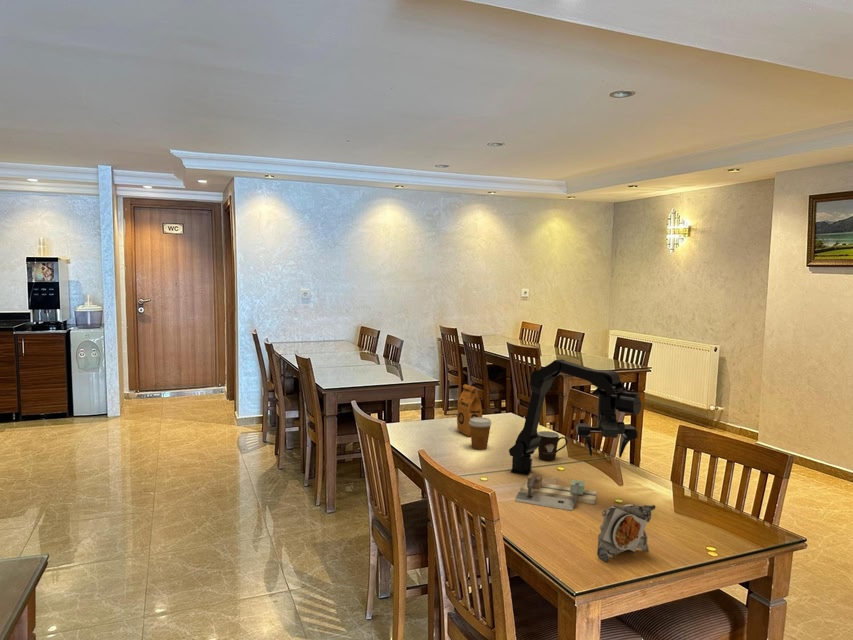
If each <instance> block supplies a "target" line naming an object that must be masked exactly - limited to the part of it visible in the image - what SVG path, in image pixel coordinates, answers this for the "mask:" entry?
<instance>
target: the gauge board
mask: <svg viewBox="0 0 853 640" xmlns="http://www.w3.org/2000/svg"><path fill="white" fill-rule="evenodd" d="M519 489H520V490H519V492H525V493H528V495H529V496H531V494H537V495H543V496H549V497H555V498H562V499H568V500H572V498H573V495H572V493H570V486H564V485H559V484H552V483H545V482H543V474H538V473H533V472H529V474H528V476H527V480H526V479H525V480H524V481H523V483H522V485H521V486H520V487H519ZM597 495H598V490H589V489H585V488H584V492H583V495H581V494H576V502H577V503H583V504H588V505H596V501H597V497H598V496H597Z"/></svg>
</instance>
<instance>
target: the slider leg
mask: <svg viewBox="0 0 853 640" xmlns="http://www.w3.org/2000/svg"><path fill="white" fill-rule="evenodd" d="M585 481H586V480H578V479H572V480H571V482H570V485H569V487H570V493H572V495H573V498H572V502H573V503H575V504H576V494H581V495H583V492H584V489H585Z"/></svg>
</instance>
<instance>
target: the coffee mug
mask: <svg viewBox="0 0 853 640" xmlns="http://www.w3.org/2000/svg"><path fill="white" fill-rule="evenodd" d="M537 433H538V435H539V436H541V440H540V446H538V448H537V451H538V459H539V460H540V461H544V462H554V461H555V460H556V457H557V453H558V452H559V451H561V450H562V449H564V448H565V447H566V446H567V445H568V443H569V442H568V439H567V438H566V437H564V436H561V437H560V434H559V433H558V432H555V431H549V430H542V431H537ZM561 439H562V440H563V439H564V440H565V444H564V445H563V446H562V447H560V448H558V445H559V442H560V440H561Z"/></svg>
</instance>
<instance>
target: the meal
mask: <svg viewBox="0 0 853 640" xmlns="http://www.w3.org/2000/svg"><path fill="white" fill-rule="evenodd" d="M653 510H656V505H655V504H652V505H642V504H633V503H631V504H630V503H629V504H628V503H627V504H623V505H616V504H615V505H611V506H610V507H609V508H607V509H604V510H603V511H602V512H601V514H602V518H603V519H602V520H603V521H602V524H600V526H599V530H600V533H599V534H598V537H597V541H598V542H597V550H596V552H597V553H596V556H597V557H598V558H599V560H602V562H603V561H604V562H605V563H606V564H608V561H609V558H614V557H615V556H616V554H618V553H623V552H626V551H631V552H636V551H637V549H638V550H640V551H646V552H650V548H649V545H648V534H647V532H646V530H645V529H646V526H647V523H649V522H650V521H651V519H652V511H653Z"/></svg>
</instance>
